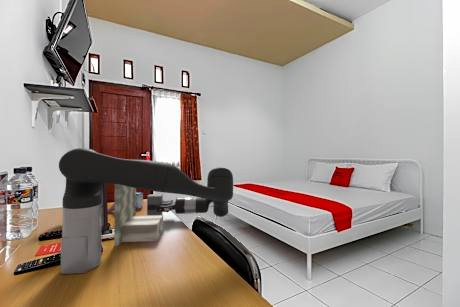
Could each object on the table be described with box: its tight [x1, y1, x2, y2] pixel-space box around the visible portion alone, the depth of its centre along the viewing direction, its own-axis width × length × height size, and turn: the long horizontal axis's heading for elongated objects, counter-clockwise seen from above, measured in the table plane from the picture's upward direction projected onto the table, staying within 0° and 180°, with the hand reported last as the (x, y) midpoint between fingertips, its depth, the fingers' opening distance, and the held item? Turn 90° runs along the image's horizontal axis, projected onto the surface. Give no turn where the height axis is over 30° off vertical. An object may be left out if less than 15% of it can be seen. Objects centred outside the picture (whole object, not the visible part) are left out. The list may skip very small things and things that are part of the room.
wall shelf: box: [113, 184, 164, 247], centre depth 86 cm, size 18×14×24 cm
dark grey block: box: [146, 193, 164, 215], centre depth 104 cm, size 4×6×12 cm
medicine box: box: [136, 192, 144, 210], centre depth 127 cm, size 8×4×9 cm, turn 81°
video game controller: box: [108, 202, 115, 217], centre depth 115 cm, size 10×5×7 cm, turn 48°
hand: (149, 206), depth 104 cm, fingers closed on dark grey block, 4 cm apart
